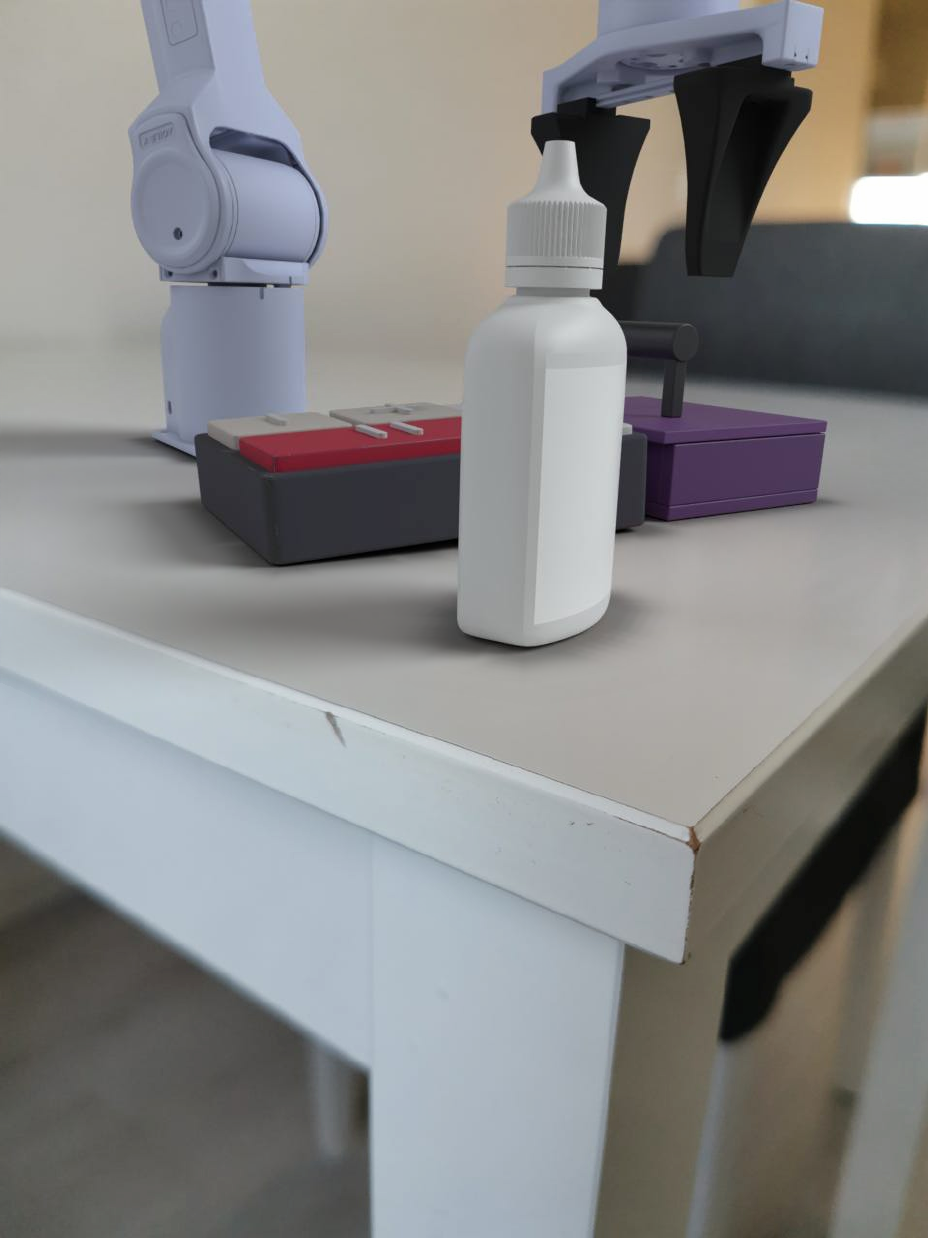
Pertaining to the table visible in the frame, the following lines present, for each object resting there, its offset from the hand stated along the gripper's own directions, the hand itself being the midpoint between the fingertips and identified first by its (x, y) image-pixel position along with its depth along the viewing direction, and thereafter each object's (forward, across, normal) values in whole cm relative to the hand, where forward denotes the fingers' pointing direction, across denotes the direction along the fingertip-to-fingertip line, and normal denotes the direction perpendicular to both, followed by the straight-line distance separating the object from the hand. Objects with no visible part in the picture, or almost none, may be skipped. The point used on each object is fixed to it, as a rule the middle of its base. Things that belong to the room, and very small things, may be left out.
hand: (647, 277), depth 43 cm
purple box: (+10, 0, -1) cm, 10 cm away
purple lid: (+6, 0, -1) cm, 6 cm away
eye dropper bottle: (+10, -14, +16) cm, 23 cm away
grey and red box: (+10, -1, +12) cm, 16 cm away
